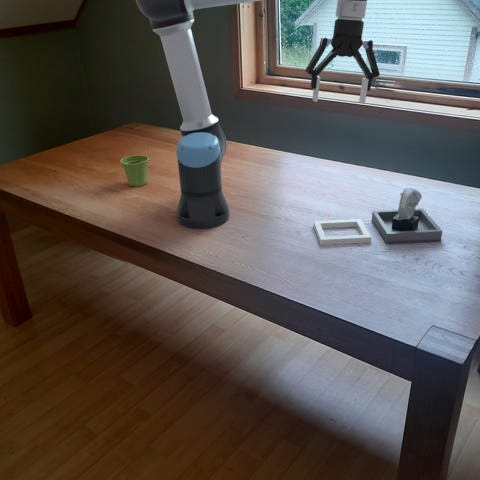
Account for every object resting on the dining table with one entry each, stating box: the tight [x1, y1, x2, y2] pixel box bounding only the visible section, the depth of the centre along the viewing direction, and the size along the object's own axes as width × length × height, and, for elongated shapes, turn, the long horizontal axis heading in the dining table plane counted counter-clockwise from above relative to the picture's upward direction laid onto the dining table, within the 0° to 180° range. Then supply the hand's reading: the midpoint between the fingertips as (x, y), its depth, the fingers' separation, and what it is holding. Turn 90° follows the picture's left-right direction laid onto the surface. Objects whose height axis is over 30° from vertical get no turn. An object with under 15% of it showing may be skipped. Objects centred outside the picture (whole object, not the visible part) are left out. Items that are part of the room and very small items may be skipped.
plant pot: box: [119, 154, 150, 188], centre depth 174 cm, size 9×9×9 cm
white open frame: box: [313, 218, 372, 246], centre depth 137 cm, size 13×11×2 cm
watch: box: [392, 187, 423, 231], centre depth 135 cm, size 6×8×11 cm
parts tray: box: [371, 208, 443, 245], centre depth 137 cm, size 14×14×3 cm
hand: (338, 101), depth 143 cm, fingers open, 13 cm apart
